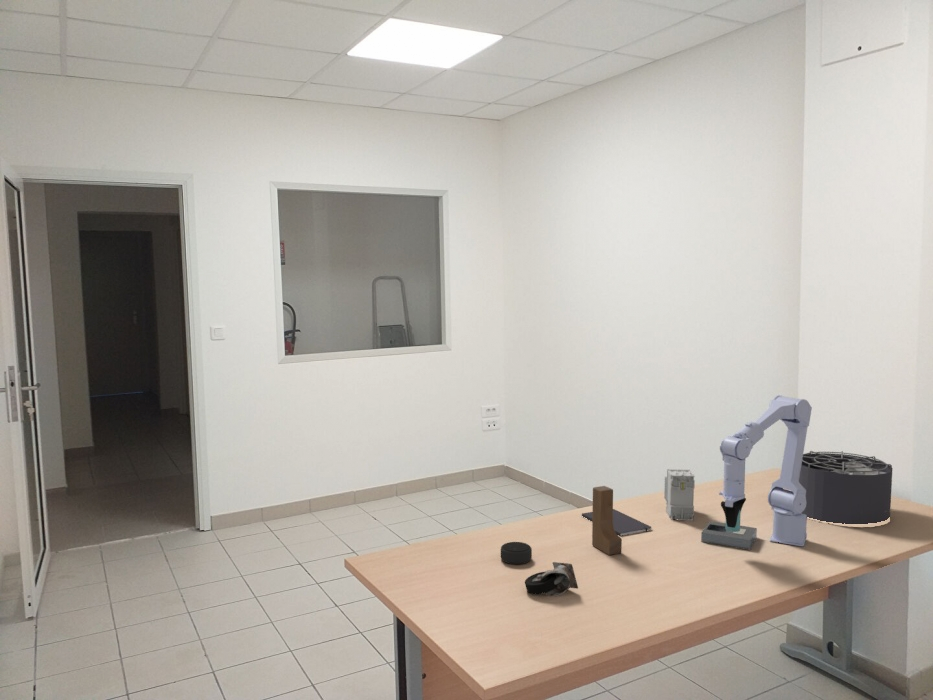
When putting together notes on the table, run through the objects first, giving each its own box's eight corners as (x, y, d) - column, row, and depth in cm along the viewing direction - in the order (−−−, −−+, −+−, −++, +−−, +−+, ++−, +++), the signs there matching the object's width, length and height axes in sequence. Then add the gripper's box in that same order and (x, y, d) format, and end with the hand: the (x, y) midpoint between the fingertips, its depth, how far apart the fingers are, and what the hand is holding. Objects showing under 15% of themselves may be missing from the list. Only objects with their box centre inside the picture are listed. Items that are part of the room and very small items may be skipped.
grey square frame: (756, 537, 227) (756, 527, 227) (749, 550, 217) (750, 539, 217) (709, 530, 234) (710, 520, 234) (701, 541, 224) (701, 531, 223)
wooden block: (622, 553, 215) (622, 493, 213) (609, 555, 213) (610, 495, 211) (604, 543, 223) (604, 485, 221) (591, 545, 221) (592, 487, 219)
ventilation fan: (897, 475, 229) (792, 465, 242) (894, 533, 230) (790, 520, 243) (890, 454, 255) (795, 446, 268) (887, 506, 257) (793, 495, 270)
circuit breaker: (685, 507, 258) (686, 465, 256) (693, 520, 244) (694, 476, 242) (663, 506, 258) (664, 464, 257) (670, 519, 244) (671, 475, 243)
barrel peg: (741, 528, 214) (741, 508, 213) (738, 532, 210) (739, 512, 210) (726, 526, 216) (727, 506, 215) (724, 530, 212) (724, 510, 212)
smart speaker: (534, 555, 214) (534, 542, 213) (528, 567, 205) (528, 553, 205) (504, 552, 216) (504, 539, 216) (497, 564, 208) (497, 550, 207)
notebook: (581, 518, 248) (620, 538, 229) (581, 513, 248) (620, 533, 229) (612, 512, 254) (652, 532, 234) (612, 508, 253) (652, 527, 234)
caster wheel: (522, 600, 190) (547, 583, 196) (555, 605, 181) (579, 587, 188) (516, 575, 189) (540, 559, 196) (548, 579, 181) (573, 562, 188)
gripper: (724, 471, 220) (723, 515, 221) (714, 482, 207) (713, 529, 209) (749, 474, 216) (748, 519, 218) (740, 486, 204) (739, 533, 205)
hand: (732, 524), depth 213 cm, fingers closed on barrel peg, 4 cm apart
